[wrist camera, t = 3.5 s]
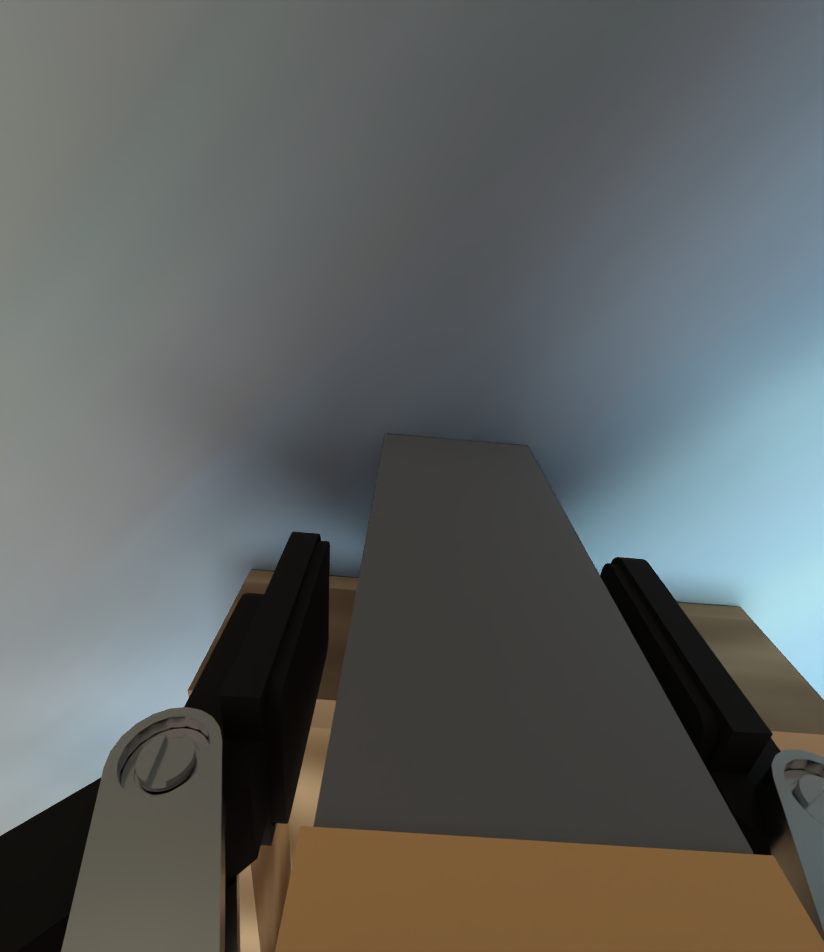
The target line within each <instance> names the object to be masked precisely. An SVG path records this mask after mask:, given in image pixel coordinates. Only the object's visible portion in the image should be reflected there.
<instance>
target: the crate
mask: <svg viewBox="0 0 824 952" xmlns="http://www.w3.org/2000/svg"><path fill="white" fill-rule="evenodd" d="M273 574H274V572H273V571H260V570H250V572H249V574H248V576H247V578H246V580H245V582H244V584H243V586H242V588H241V590H240V592H239V593H238V595H237V597H236V599H235V601H234V603H233V605H232V607H231V609H230V611H229V613H228V614H227V616H226V618H225V620H224V622H223V624H222V626H221V628H220V630H219V632H218V634H217V636H216V637H215V639H214V641H213V643H212V645H211V647H210V649H209V651H208V653H207V655H206V657H205V658H204V660H203V662H202V664H201V666H200V668H199V670H198V672H197V674H196V676H195V678H194V679H193V681H192V683H191V685H190V687H189V689H188V694H189V697H190V695H191V693H192V691H193V689H194V687H195V685H196V683H197V681H198V679H199V677H200V675H201V673H202V671H203V670H204V668H205V666H206V664H207V662H208V660H209V658H210V656H211V654H212V652H213V650H214V648H215V646H216V644H217V642H218V640H219V638H220V636H221V634H222V632H223V630H224V628H225V627H226V625H227V623H228V621H229V619H230V617H231V615H232V613H233V611H234V609H235V607H236V605H237V603H238V601H239V599H240V598H241V596H242V595H243V594H245V593H257V594H265V591H266V589H267V587H268V585H269V582H270V580H271V578H272V576H273ZM358 579H359V578H351V577H338V576H329V641H328V650H327V656H326V661H325V665H324V670H323V674H322V678H321V683H320V687H319V692H318V696H317V700H316V705H315V709H314V714H313V718H312V723H311V727H310V731H309V736H308V740H307V745H306V749H305V753H304V758H303V762H302V767H301V771H300V776H299V780H298V784H297V789H296V793H295V798H294V802H293V806H292V811H291V815H290V819H289V822H288V823H287V824H281V823H277V825H276V829H275V833H274V838H273V842H272V846H267V845H261V847H260V851H259V854H258V858H257V859H256V860H255V861H254V862H253V863H251V864H250V865H249V866H248V867H247V868H245V869H244V870H243V871H242V872H241V873H239V896H240V952H275V949H276V944H277V939H278V934H279V929H280V924H281V919H282V914H283V909H284V905H285V900H286V895H287V890H288V885H289V880H290V875H291V870H292V865H293V860H294V856H295V851H296V846H297V841H298V836H299V831H300V826H309V827H313V826H314V820H315V815H316V809H317V804H318V799H319V793H320V788H321V782H322V777H323V771H324V766H325V760H326V755H327V749H328V744H329V738H330V733H331V727H332V722H333V716H334V711H335V705H336V700H337V694H338V689H339V683H340V678H341V672H342V667H343V661H344V656H345V650H346V645H347V639H348V634H349V628H350V623H351V617H352V612H353V606H354V601H355V595H356V590H357V584H358ZM677 603H678V602H677ZM678 604H679V606H680V607H681V609H682V610H683V611H684V613H685V614H686V615H687V617H688V618H689V619H690V621H691V622H692V624H693V625H694V626H695V628H696V629H697V630H698V632H699V633H700V635H701V636H702V637H703V639H704V640H705V641H706V643H707V644H708V646H709V647H710V648H711V650H712V651H713V652H714V654H715V655H716V657H717V658H718V659H719V661H720V662H721V663H722V665H723V666H724V668H725V669H726V670H727V672H728V673H729V674H730V676H731V677H732V679H733V680H734V681H735V683H736V684H737V685H738V687H739V688H740V690H741V691H742V692H743V694H744V695H745V696H746V698H747V699H748V700H749V702H750V703H751V705H752V706H753V707H754V709H755V710H756V711H757V713H758V714H759V716H760V717H761V718H762V720H763V721H764V722H765V724H766V725H767V727H768V728H769V729H770V731H771V732H772V733H773V735H772V736H771V738H772V740H773V741H774V743H775V744H776V745H777V747H778V748H779V750H780V751H781V752H782V751H783V750H794V749H798V750H802V751H807V752H811V753H814V754H817V755H819V756H822V757H824V700H823V699H822V698H821V696H820V695H819V694H818V693H817V692H816V691H815V690H814V689H813V688H812V686H811V685H810V684H809V683H808V682H807V681H806V680H805V679H804V677H803V676H802V675H801V674H800V673H799V672H798V671H797V670H796V669H795V667H794V666H793V665H792V664H791V663H790V662H789V661H788V660H787V658H786V657H785V656H784V655H783V654H782V653H781V652H780V651H779V650H778V648H777V647H776V646H775V645H774V644H773V643H772V642H771V641H770V639H769V638H768V637H767V636H766V635H765V634H764V633H763V632H762V631H761V629H760V628H759V627H758V626H757V625H756V624H755V623H754V622H753V620H752V619H751V618H750V617H749V616H748V615H747V614H746V613H745V612H744V610H743V609H742V608H741V607H731V606H718V605H704V604H691V603H678Z"/></svg>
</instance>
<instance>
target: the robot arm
mask: <svg viewBox="0 0 824 952" xmlns="http://www.w3.org/2000/svg"><path fill="white" fill-rule="evenodd" d="M329 568H330V544H329V542H327V541H321V537H320V534H314V533H302V532H292V534H291V536H290V538H289V540H288V542H287V544H286V547H285V549H284V551H283V553H282V556H281V558H280V560H279V562H278V565H277V567H276V569H275V571H274V574H273V576H272V578H271V580H270V582H269V585H268V587H267V589H266V591H265V594H257V593H245V594H243V595H242V596H241V598H240V599H239V601H238V603H237V605H236V607H235V609H234V611H233V613H232V615H231V617H230V619H229V621H228V623H227V625H226V627H225V628H224V630H223V632H222V634H221V636H220V638H219V640H218V642H217V644H216V646H215V648H214V650H213V652H212V654H211V656H210V658H209V660H208V662H207V664H206V666H205V668H204V670H203V671H202V673H201V675H200V677H199V679H198V681H197V683H196V685H195V687H194V689H193V691H192V693H191V695H190V697H189V699H188V701H187V703H186V705H185V707H183V708H172V709H168V710H165V711H162V712H159V713H155V714H153V715H151V716H149V717H147V718H146V719H144V720H142V721H140V722H139V723H137V724H136V725H134V726H133V727H132V728H131V729H130V730H129V731H127V732H126V733H125V734H124V735H123V736H122V737H121V738H120V739H119V741H118V742H117V743H116V745H115V746H114V747H113V749H112V750H111V751H110V754H109V756H108V759H107V761H106V763H105V766H104V769H103V773H102V777H101V778H100V779H98V780H96V781H94V782H93V783H91V784H89V785H88V786H86V787H84V788H82V789H81V790H79V791H77V792H75V793H74V794H72V795H70V796H69V797H67V798H65V799H63V800H62V801H60V802H58V803H57V804H55V805H53V806H51V807H50V808H48V809H46V810H44V811H43V812H41V813H39V814H38V815H36V816H34V817H32V818H31V819H29V820H27V821H25V822H24V823H22V824H20V825H19V826H17V827H15V828H13V829H12V830H10V831H8V832H7V833H5V834H3V835H1V836H0V952H240V896H239V873H241V872H242V871H243V870H244V869H245V868H247V867H248V866H249V865H250V864H251V863H253V862H254V861H255V860H256V859H257V858H258V854H259V851H260V847H261V845H267V846H272V842H273V838H274V833H275V829H276V825H277V823H281V824H287V823H288V822H289V819H290V815H291V811H292V806H293V802H294V798H295V793H296V789H297V784H298V780H299V776H300V771H301V767H302V762H303V758H304V753H305V749H306V745H307V740H308V736H309V731H310V727H311V723H312V718H313V714H314V709H315V705H316V700H317V696H318V692H319V687H320V683H321V678H322V674H323V670H324V665H325V661H326V656H327V650H328V641H329ZM600 577H601V579H602V580H603V582H604V584H605V586H606V588H607V589H608V591H609V593H610V595H611V597H612V598H613V600H614V602H615V604H616V606H617V607H618V609H619V611H620V613H621V615H622V617H623V618H624V620H625V622H626V624H627V626H628V627H629V629H630V631H631V633H632V635H633V636H634V638H635V640H636V642H637V644H638V645H639V647H640V649H641V651H642V653H643V654H644V656H645V658H646V660H647V662H648V663H649V665H650V667H651V669H652V671H653V672H654V674H655V676H656V678H657V680H658V681H659V683H660V685H661V687H662V689H663V691H664V692H665V694H666V696H667V698H668V700H669V701H670V703H671V705H672V707H673V709H674V710H675V712H676V714H677V716H678V718H679V719H680V721H681V723H682V725H683V727H684V728H685V730H686V732H687V734H688V736H689V737H690V739H691V741H692V743H693V745H694V746H695V748H696V750H697V752H698V754H699V755H700V757H701V759H702V761H703V763H704V765H705V766H706V768H707V770H708V772H709V774H710V775H711V777H712V779H713V781H714V783H715V784H716V786H717V788H718V790H719V792H720V793H721V795H722V797H723V799H724V801H725V802H726V804H727V806H728V808H729V810H730V811H731V813H732V815H733V817H734V819H735V820H736V822H737V824H738V826H739V828H740V829H741V831H742V833H743V835H744V837H745V838H746V840H747V842H748V844H749V846H750V848H751V849H752V851H753V853H754V854H756V855H772V856H774V857H775V859H776V861H777V862H778V864H779V866H780V868H781V869H782V871H783V873H784V874H785V876H786V878H787V880H788V881H789V883H790V885H791V886H792V888H793V890H794V892H795V893H796V895H797V897H798V898H799V900H800V902H801V904H802V905H803V907H804V909H805V910H806V912H807V914H808V916H809V917H810V919H811V921H812V922H813V924H814V926H815V927H816V929H817V931H818V933H819V934H820V936H821V938H822V939H823V941H824V757H822V756H819V755H817V754H814V753H811V752H807V751H802V750H798V749H794V750H783V751H782V752H781V751H780V750H779V748H778V747H777V745H776V744H775V743H774V741H773V740H772V738H771V736H772V735H773V733H772V732H771V731H770V729H769V728H768V727H767V725H766V724H765V722H764V721H763V720H762V718H761V717H760V716H759V714H758V713H757V711H756V710H755V709H754V707H753V706H752V705H751V703H750V702H749V700H748V699H747V698H746V696H745V695H744V694H743V692H742V691H741V690H740V688H739V687H738V685H737V684H736V683H735V681H734V680H733V679H732V677H731V676H730V674H729V673H728V672H727V670H726V669H725V668H724V666H723V665H722V663H721V662H720V661H719V659H718V658H717V657H716V655H715V654H714V652H713V651H712V650H711V648H710V647H709V646H708V644H707V643H706V641H705V640H704V639H703V637H702V636H701V635H700V633H699V632H698V630H697V629H696V628H695V626H694V625H693V624H692V622H691V621H690V619H689V618H688V617H687V615H686V614H685V613H684V611H683V610H682V609H681V607H680V606H679V604H678V603H677V602H676V600H675V599H674V598H673V596H672V595H671V593H670V592H669V591H668V589H667V588H666V587H665V585H664V584H663V582H662V581H661V580H660V578H659V577H658V576H657V574H656V573H655V571H654V570H653V569H652V567H651V566H650V565H649V563H648V562H647V561H646V560H643V559H633V558H621V557H617V558H614V559H613V561H612V562H611V564H609V563H607V564H605V565H604V567H603V569H602V572H601V575H600Z"/></svg>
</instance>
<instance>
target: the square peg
mask: <svg viewBox="0 0 824 952" xmlns="http://www.w3.org/2000/svg"><path fill="white" fill-rule="evenodd" d="M275 952H824V941H823V939H822V938H821V936H820V934H819V933H818V931H817V929H816V927H815V926H814V924H813V922H812V921H811V919H810V917H809V916H808V914H807V912H806V910H805V909H804V907H803V905H802V904H801V902H800V900H799V898H798V897H797V895H796V893H795V892H794V890H793V888H792V886H791V885H790V883H789V881H788V880H787V878H786V876H785V874H784V873H783V871H782V869H781V868H780V866H779V864H778V862H777V861H776V859H775V857H774V856H772V855H756V854H754V853H753V851H752V849H751V848H750V846H749V844H748V842H747V840H746V838H745V837H744V835H743V833H742V831H741V829H740V828H739V826H738V824H737V822H736V820H735V819H734V817H733V815H732V813H731V811H730V810H729V808H728V806H727V804H726V802H725V801H724V799H723V797H722V795H721V793H720V792H719V790H718V788H717V786H716V784H715V783H714V781H713V779H712V777H711V775H710V774H709V772H708V770H707V768H706V766H705V765H704V763H703V761H702V759H701V757H700V755H699V754H698V752H697V750H696V748H695V746H694V745H693V743H692V741H691V739H690V737H689V736H688V734H687V732H686V730H685V728H684V727H683V725H682V723H681V721H680V719H679V718H678V716H677V714H676V712H675V710H674V709H673V707H672V705H671V703H670V701H669V700H668V698H667V696H666V694H665V692H664V691H663V689H662V687H661V685H660V683H659V681H658V680H657V678H656V676H655V674H654V672H653V671H652V669H651V667H650V665H649V663H648V662H647V660H646V658H645V656H644V654H643V653H642V651H641V649H640V647H639V645H638V644H637V642H636V640H635V638H634V636H633V635H632V633H631V631H630V629H629V627H628V626H627V624H626V622H625V620H624V618H623V617H622V615H621V613H620V611H619V609H618V607H617V606H616V604H615V602H614V600H613V598H612V597H611V595H610V593H609V591H608V589H607V588H606V586H605V584H604V582H603V580H602V579H601V577H600V575H599V573H598V571H597V570H596V568H595V566H594V564H593V562H592V561H591V559H590V557H589V555H588V553H587V552H586V550H585V548H584V546H583V544H582V543H581V541H580V539H579V537H578V535H577V534H576V532H575V530H574V528H573V526H572V524H571V523H570V521H569V519H568V517H567V515H566V514H565V512H564V510H563V508H562V506H561V505H560V503H559V501H558V499H557V497H556V496H555V494H554V492H553V490H552V488H551V487H550V485H549V483H548V481H547V479H546V478H545V476H544V474H543V472H542V470H541V469H540V467H539V465H538V463H537V461H536V460H535V458H534V456H533V454H532V452H531V450H530V449H529V447H528V446H527V445H515V444H503V443H491V442H479V441H467V440H455V439H443V438H431V437H419V436H407V435H395V434H385V436H384V441H383V447H382V452H381V458H380V463H379V469H378V474H377V480H376V485H375V491H374V496H373V502H372V507H371V513H370V518H369V524H368V529H367V535H366V540H365V546H364V551H363V557H362V562H361V568H360V573H359V579H358V584H357V590H356V595H355V601H354V606H353V612H352V617H351V623H350V628H349V634H348V639H347V645H346V650H345V656H344V661H343V667H342V672H341V678H340V683H339V689H338V694H337V700H336V705H335V711H334V716H333V722H332V727H331V733H330V738H329V744H328V749H327V755H326V760H325V766H324V771H323V777H322V782H321V788H320V793H319V799H318V804H317V809H316V815H315V820H314V826H313V827H309V826H300V831H299V836H298V841H297V846H296V851H295V856H294V860H293V865H292V870H291V875H290V880H289V885H288V890H287V895H286V900H285V905H284V909H283V914H282V919H281V924H280V929H279V934H278V939H277V944H276V949H275Z"/></svg>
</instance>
